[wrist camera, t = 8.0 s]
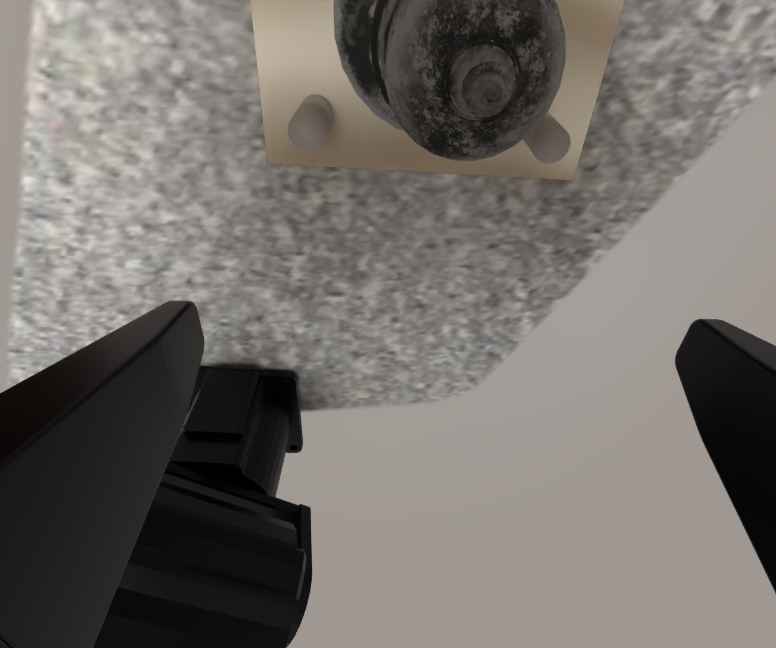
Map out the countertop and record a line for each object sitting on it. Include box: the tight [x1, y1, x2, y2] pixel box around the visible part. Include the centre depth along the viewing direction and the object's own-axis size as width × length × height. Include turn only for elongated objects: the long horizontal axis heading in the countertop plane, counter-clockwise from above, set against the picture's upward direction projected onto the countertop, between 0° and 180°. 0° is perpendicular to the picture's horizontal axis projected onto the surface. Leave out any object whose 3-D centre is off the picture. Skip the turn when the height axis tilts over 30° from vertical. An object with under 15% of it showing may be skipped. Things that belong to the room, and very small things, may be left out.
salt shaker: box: [333, 0, 566, 161], centre depth 11 cm, size 6×6×12 cm
